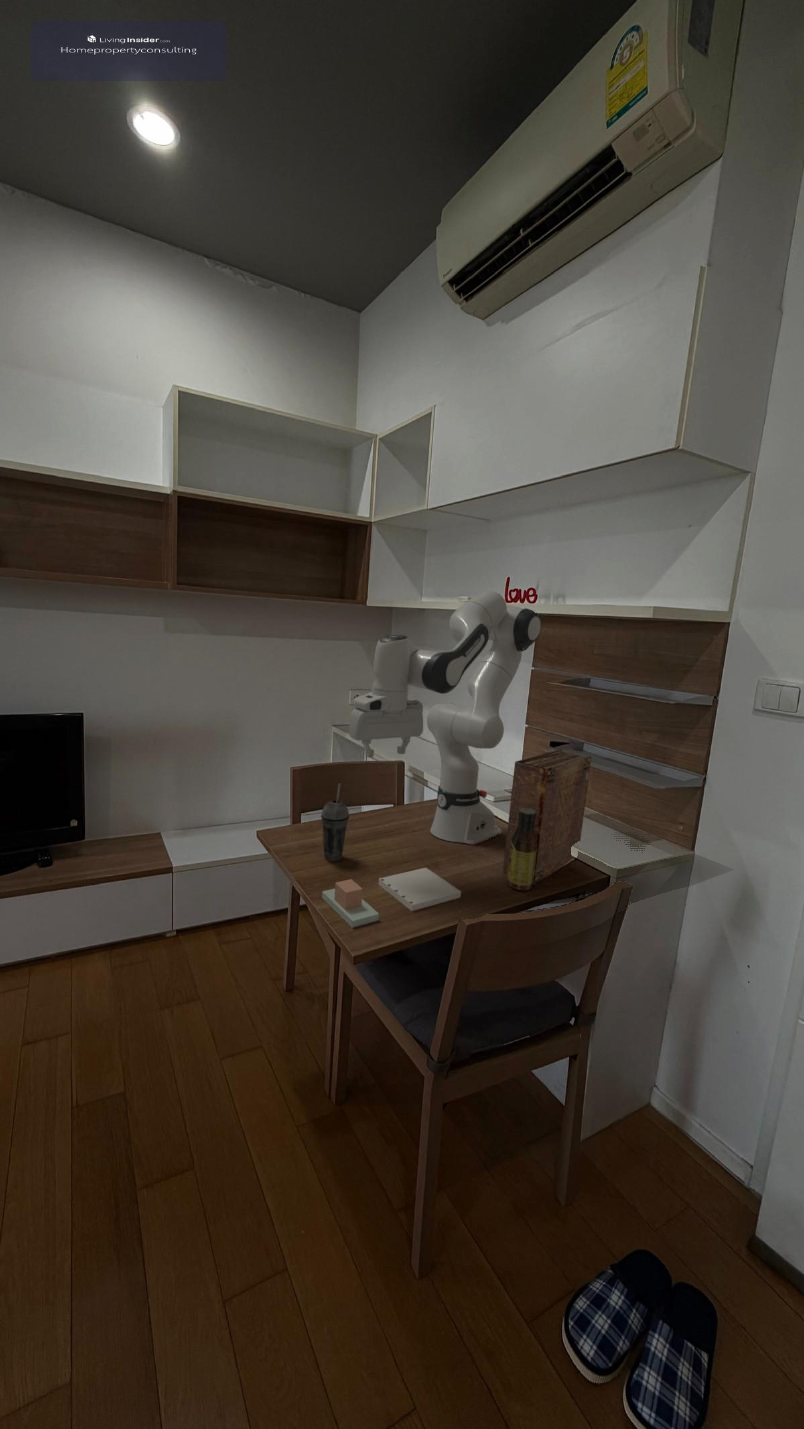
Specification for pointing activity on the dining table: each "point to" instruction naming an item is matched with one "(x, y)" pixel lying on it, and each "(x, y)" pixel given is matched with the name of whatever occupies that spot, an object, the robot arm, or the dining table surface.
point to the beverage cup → (334, 828)
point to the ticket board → (419, 888)
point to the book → (550, 806)
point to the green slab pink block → (350, 903)
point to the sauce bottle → (523, 852)
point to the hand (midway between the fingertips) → (385, 755)
